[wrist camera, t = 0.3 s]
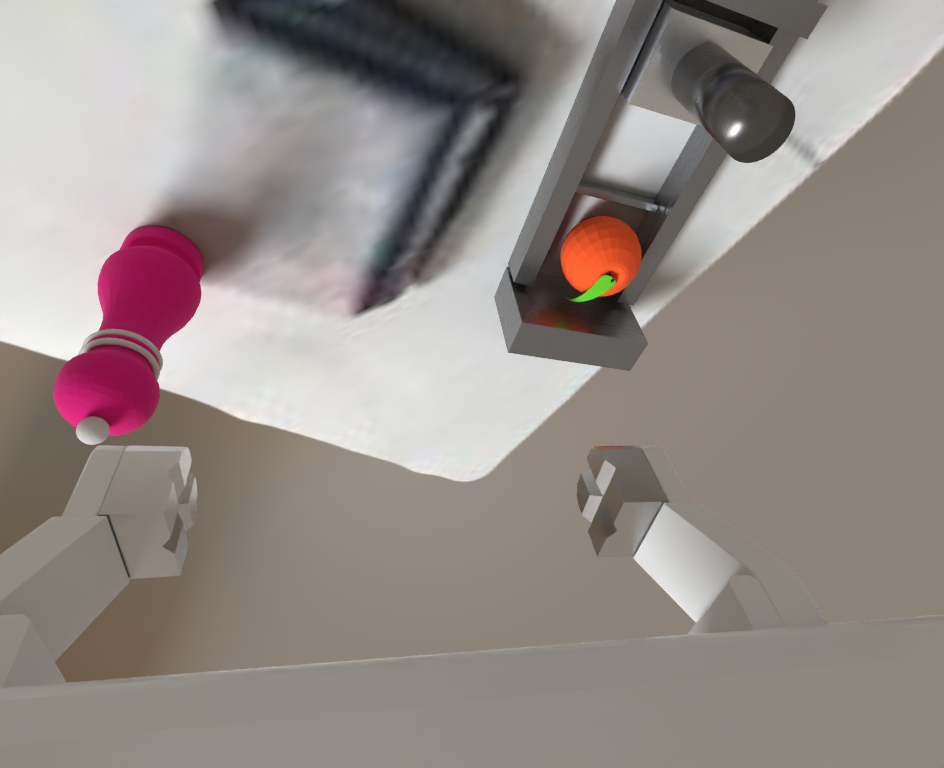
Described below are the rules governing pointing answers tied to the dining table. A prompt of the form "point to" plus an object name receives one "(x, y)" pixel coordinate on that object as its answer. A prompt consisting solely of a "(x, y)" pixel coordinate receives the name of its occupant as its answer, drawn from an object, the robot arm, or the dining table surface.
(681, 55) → the ram
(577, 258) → the clementine
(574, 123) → the press
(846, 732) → the robot arm
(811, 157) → the dining table surface
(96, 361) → the pepper mill
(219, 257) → the dining table surface
